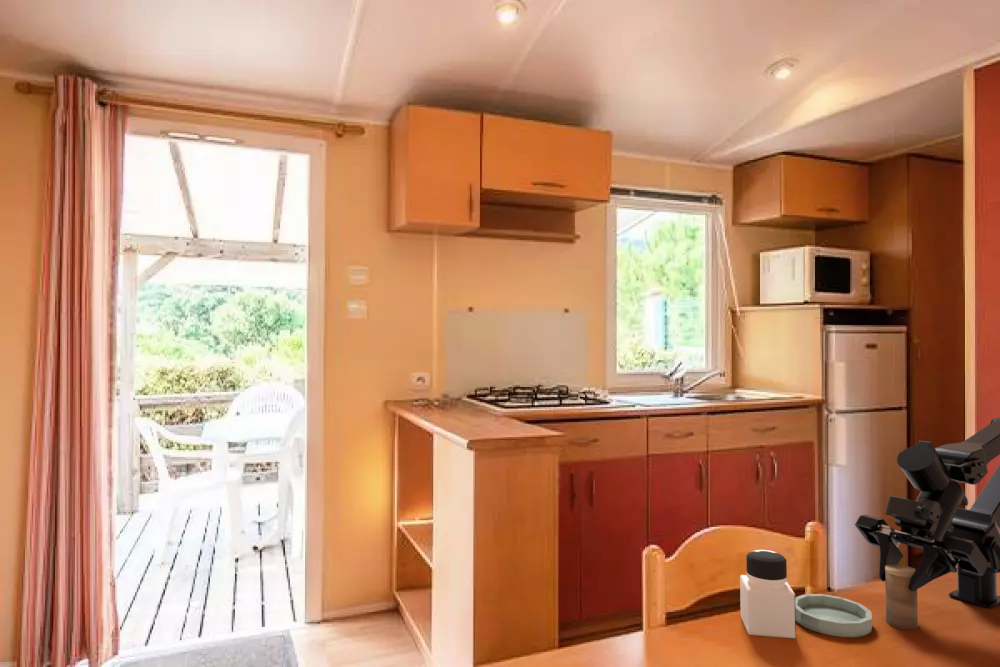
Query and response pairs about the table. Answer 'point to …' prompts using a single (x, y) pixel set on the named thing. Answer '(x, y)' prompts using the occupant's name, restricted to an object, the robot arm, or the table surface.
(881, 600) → the table surface
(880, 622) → the table surface
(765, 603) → the medicine bottle
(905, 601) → the spice jar
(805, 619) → the dish
